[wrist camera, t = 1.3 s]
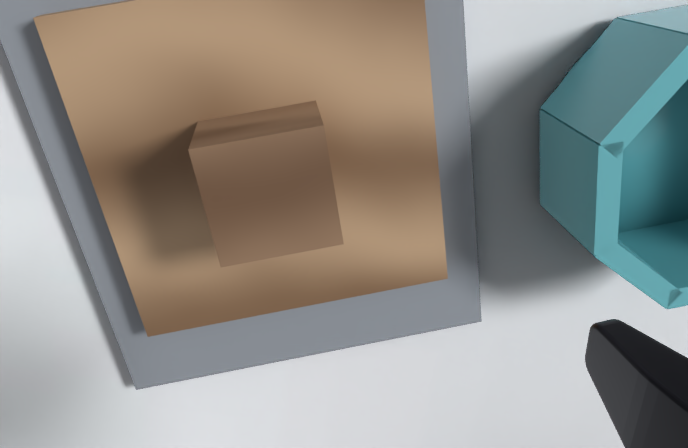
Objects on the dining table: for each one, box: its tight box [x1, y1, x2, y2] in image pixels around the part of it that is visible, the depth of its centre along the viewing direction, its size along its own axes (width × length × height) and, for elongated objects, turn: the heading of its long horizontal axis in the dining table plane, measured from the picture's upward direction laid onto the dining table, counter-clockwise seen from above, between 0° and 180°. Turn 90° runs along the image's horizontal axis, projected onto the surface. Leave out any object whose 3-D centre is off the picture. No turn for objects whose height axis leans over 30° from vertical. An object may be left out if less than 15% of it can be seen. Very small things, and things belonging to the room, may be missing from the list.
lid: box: [33, 0, 448, 337], centre depth 20 cm, size 12×12×4 cm
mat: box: [0, 0, 481, 390], centre depth 22 cm, size 18×15×1 cm
